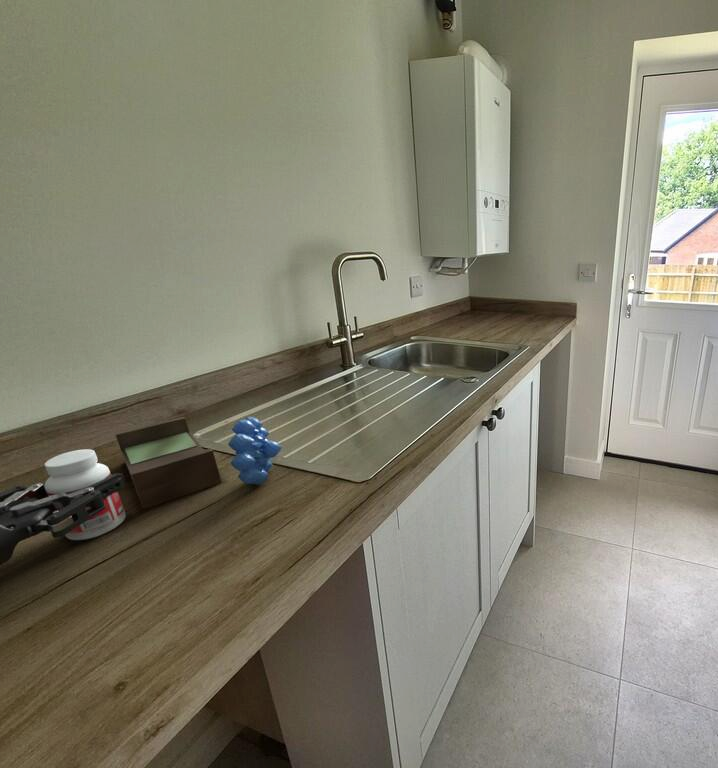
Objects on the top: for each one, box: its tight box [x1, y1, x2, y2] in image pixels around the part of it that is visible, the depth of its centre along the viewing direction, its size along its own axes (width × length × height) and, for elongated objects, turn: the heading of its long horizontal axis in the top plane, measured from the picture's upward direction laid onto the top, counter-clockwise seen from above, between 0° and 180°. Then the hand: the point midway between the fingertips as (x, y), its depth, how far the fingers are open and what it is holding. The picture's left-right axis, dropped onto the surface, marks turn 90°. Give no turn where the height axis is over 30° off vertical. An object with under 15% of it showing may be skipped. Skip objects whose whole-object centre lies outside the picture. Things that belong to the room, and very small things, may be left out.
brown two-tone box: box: [114, 416, 222, 510], centre depth 70 cm, size 10×21×6 cm, turn 48°
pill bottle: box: [44, 448, 126, 541], centre depth 56 cm, size 6×6×11 cm
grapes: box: [227, 416, 283, 486], centre depth 66 cm, size 12×7×12 cm, turn 16°
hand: (100, 477), depth 57 cm, fingers closed on pill bottle, 6 cm apart
